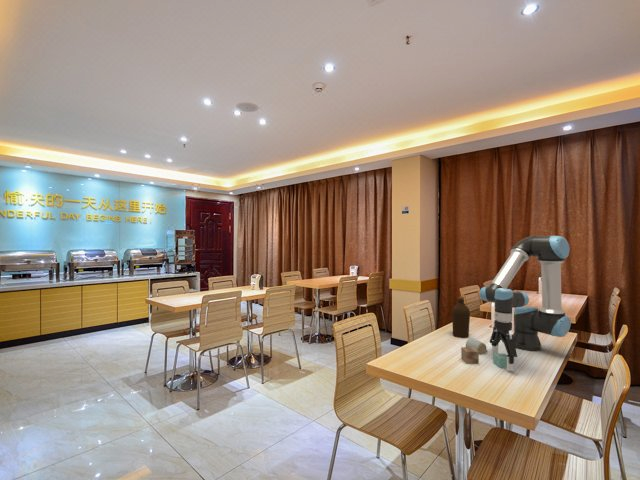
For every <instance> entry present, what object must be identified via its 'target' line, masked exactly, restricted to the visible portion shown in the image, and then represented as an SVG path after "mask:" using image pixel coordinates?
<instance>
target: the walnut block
mask: <svg viewBox="0 0 640 480" xmlns="http://www.w3.org/2000/svg"><path fill="white" fill-rule="evenodd" d="M460 349H461V351H460V356H461V358H460V360H461V359H462V360H463V361H464V362H465V363H466V364H465V363H464V362H463V361H462V360H461V361H462V362H463V363H464V364H465V365H480V363H479V362H480V358H479V357H480V356H479V355H480V354H479V352H478V351H477V350H476V349H475V348H472V347H466V346H464V347H463V346H461V348H460Z"/></svg>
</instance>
